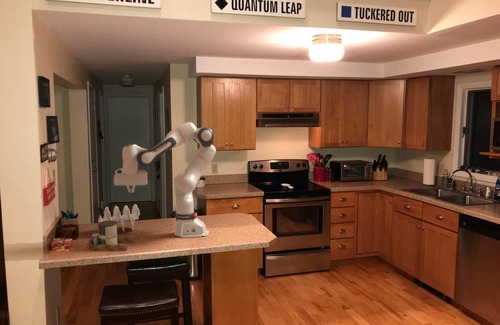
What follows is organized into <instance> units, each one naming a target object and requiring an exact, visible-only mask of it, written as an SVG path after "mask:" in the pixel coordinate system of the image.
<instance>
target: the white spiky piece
mask: <svg viewBox="0 0 500 325" xmlns="http://www.w3.org/2000/svg"><path fill="white" fill-rule="evenodd" d="M130 210H131V211H130ZM103 215H104V216H103V218H102V216H101V214H100V215H99V218H98V223H100V222H103V221H116V222H117V223H121V228H122V232H124V233H125V225H126V223H127V222H130V225H131V230H132V231H135V230H134V229H135V228H134V223H136V220H139V216H140V215H141V213H140V208H138V205H137V204H133V206H132V209H130V208H129V207H128V205H124V207H123V210H122V215H121V211H120V209H119V206H117V205H115V206H114V207H113V213H112V215H111V211H110V210H109V207H108V206H105V208H104V210H103Z"/></svg>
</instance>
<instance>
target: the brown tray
mask: <svg viewBox="0 0 500 325" xmlns="http://www.w3.org/2000/svg"><path fill="white" fill-rule="evenodd" d="M94 238H95V237H91V238H90V239H89V240H88V249H89V252H90V251H93V252H94V251H97V252H98V251H99V252H100V251H106V252H107V251H127V250H128V243H131V244H133V243H135V237H134V236H117V245H94V243H93V239H94ZM120 243H121V244H120ZM122 243H123V244H122ZM125 243H126V244H125Z"/></svg>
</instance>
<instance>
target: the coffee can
mask: <svg viewBox="0 0 500 325" xmlns="http://www.w3.org/2000/svg"><path fill="white" fill-rule="evenodd" d="M117 223H118V222H116V221H103V222H100V223H99V222H98V223H97V224H98V225H97V227H98V233H99V245H117V244H118V243H117V237H118V227H117V226H118V224H117Z"/></svg>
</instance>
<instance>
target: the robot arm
mask: <svg viewBox="0 0 500 325" xmlns="http://www.w3.org/2000/svg"><path fill="white" fill-rule="evenodd" d="M214 136H215V134H214V132H213V130H212V129H211V128H209V127H208V126H206V127H205V126H204V127H200V128H199V127H196V125H195V124H194V123H193V122H191V121H189V122H188V121H187V122H184V123H183V124H180V125H178V126H176V127H175V128H172V130H171V131H169V132H168V133H167V134H166V136H165V138H164V139H163V141H161V142H160V143H158V144H156V145H154V147H152V148H150V149H147V148H143V147H141V146H139V145H137V144H136V143H129V144H126V145H124V146H123V148H122V157H121V158H122V167H120V168H118V169H116V170H115V171H114V173H115V174H114V176H113V185H114V186H126V188H127V192H128V193H129V194H130V193H134V192H135V188H136V186H146V185H148V182H149V181H148V172H147V170H144V169H143V170H139V168H138V167H139V166H140V167H145V168H147V167H150V166H152V165H153V163H154V162H155V161H156V159H158V158H159V157H160V156H162V155H164V154H165V153H166V152H167V151H169V150H172V149H174V148H177V147H179V146H182V145H183V144H185V143H187V142H188V141H190V140H192V141H194V142H195V143H196V144H198V145H199V148H198V150H197V151H196V153H194V155H193V157H192V158H191V160H190V161H189V162H188V163H187V166H186V168H185V170H184V172H183V173H178V174H177V175H175V177H174V180H173V184H174V194H175V203H176V204H175V207H176V212H175V222H176V223H175V230H174V236H176V237H180V238H182V239H186V238H201V237H202V236H205V237H208V236H209V235H208V234H210V230H209V229H208V228H207V226H206V224H205V222H204V221H202V220H201V219H199V218H198V214H197V212H195V210H194V198H193V197H194V196H193V192H194V191H195V189H196V187H197V184H198V183H199V180H200V178H201V177H202V175H203V173H204V172H205V170H206V169H207V168H208V167H209V165H210V163H211V162H212V161H213V159H214V157H215V155H216V153H217V149H216V147H215V146H214V139H215V138H214ZM138 165H139V166H138ZM130 186H131V187H132V188H130ZM202 238H203V237H202Z"/></svg>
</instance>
